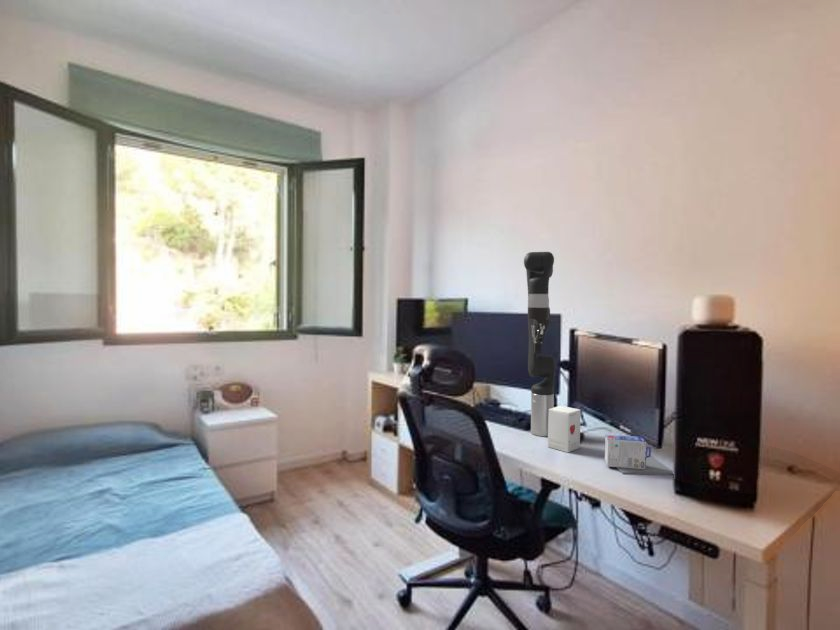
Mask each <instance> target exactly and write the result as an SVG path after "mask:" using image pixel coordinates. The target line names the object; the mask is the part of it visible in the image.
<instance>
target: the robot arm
mask: <svg viewBox="0 0 840 630" xmlns="http://www.w3.org/2000/svg"><path fill="white" fill-rule="evenodd" d="M554 264H555V257H554V255H553V253H552V252H550V251H531V252H527V253H526V254H525V256H524V258H523V265H524V268H525V270H526V282H527V285H526V286H527V324H528V326H527V327H528V355H527V371H528V374H529V376H530V377H531V378H544V379H543V380H541V381H540V382H537V383H536V384H533V385H532V386H531V389H530V391H531V393H530V394H531V396H530V397H531V399H530V400H531V401H530V434H532V435H534V436H538V437H548V417H549V409H551V408H554V407H555V406H554V405H555V397H554V396H555V377H556V359H555V357H554V356H553V355H548V354H545V355H543V354H542V344H543V343H544V340H545V335H546V333H547V332H548V330H549V328H550V325H551V309H550V297H549V282H550V278H552V275H553V273H554Z"/></svg>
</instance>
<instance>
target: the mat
mask: <svg viewBox="0 0 840 630" xmlns="http://www.w3.org/2000/svg"><path fill="white" fill-rule="evenodd" d="M603 457H604V458H605V454H604V456H603ZM615 468H616V469H617V470H618V472H620V474H622V475H662V474H673V472H674V470H672V469H671V468H670V467H668V466H666V465H665V464H664V463H662V462H661V461H659V460H658V459H656V458H655V457H654V456H652V455H651V457H648V458H646V468H645V470H644V469H634V468H621V467H615Z"/></svg>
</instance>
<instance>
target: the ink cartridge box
mask: <svg viewBox="0 0 840 630" xmlns="http://www.w3.org/2000/svg"><path fill="white" fill-rule="evenodd" d="M604 439H605V440H604V455H605V457H604V462H605V464H606V467H609V468H610V467H612V468H616V467H621V468H634V469H644V470H645V468H646V458H648V457H651V456H652V446H647V441H646V439H645V438H644V437H643V436H633V435H620V434H619V435H618V434H616V435H615V434H605V435H604Z"/></svg>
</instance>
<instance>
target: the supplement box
mask: <svg viewBox="0 0 840 630" xmlns="http://www.w3.org/2000/svg"><path fill="white" fill-rule="evenodd" d="M581 411H582V410H581V409H579V408H576V407H575V408H574V407H569V406H565V405H559V406H558V405H557V406H554V408H551V409H549V417H548V436H547V447H548V448H550V449H555V450H559V451H562V452H564V453H570V452H572V451H575V450H577V449H580V448H581V447H580V446H581Z"/></svg>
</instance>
